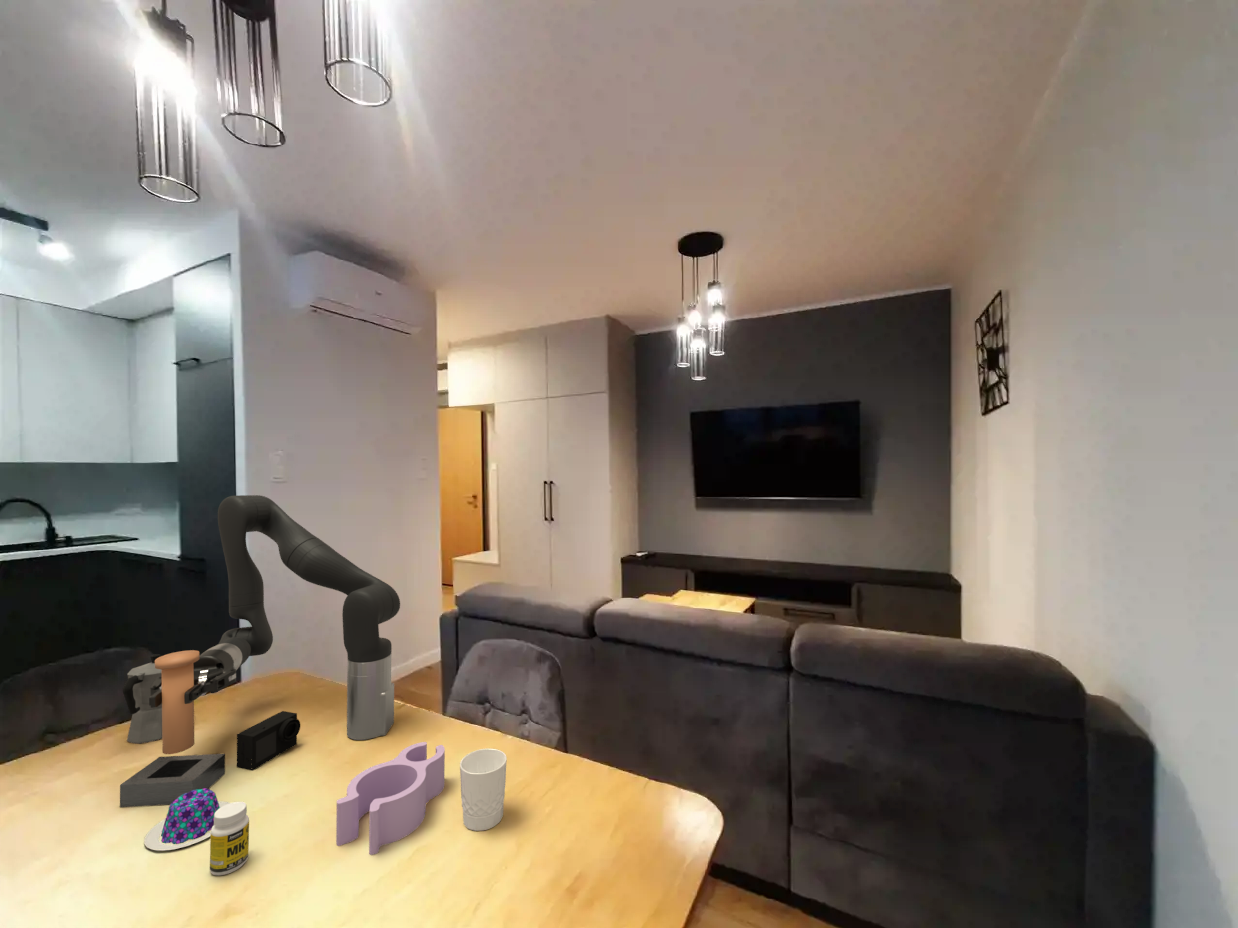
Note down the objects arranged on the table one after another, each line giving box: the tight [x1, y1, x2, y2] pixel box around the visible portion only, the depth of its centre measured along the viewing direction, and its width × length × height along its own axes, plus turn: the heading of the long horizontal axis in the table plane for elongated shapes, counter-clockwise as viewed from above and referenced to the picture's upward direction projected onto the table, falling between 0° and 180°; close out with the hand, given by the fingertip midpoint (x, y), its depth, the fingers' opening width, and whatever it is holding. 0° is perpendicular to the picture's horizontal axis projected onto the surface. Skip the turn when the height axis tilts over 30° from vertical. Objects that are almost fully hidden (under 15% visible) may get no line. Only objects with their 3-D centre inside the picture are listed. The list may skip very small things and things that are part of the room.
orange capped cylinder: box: [155, 649, 200, 755], centre depth 97 cm, size 6×6×17 cm
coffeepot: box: [122, 653, 162, 745], centre depth 117 cm, size 15×9×18 cm, turn 9°
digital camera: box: [236, 710, 301, 771], centre depth 109 cm, size 10×5×7 cm, turn 164°
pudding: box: [143, 788, 230, 851], centre depth 87 cm, size 12×12×5 cm
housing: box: [119, 753, 226, 808], centre depth 97 cm, size 12×9×4 cm
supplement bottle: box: [209, 801, 250, 876], centre depth 79 cm, size 5×5×8 cm
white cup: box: [459, 747, 508, 832], centre depth 90 cm, size 8×8×10 cm
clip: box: [335, 741, 446, 856], centre depth 92 cm, size 20×12×7 cm, turn 163°
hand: (170, 700), depth 95 cm, fingers closed on orange capped cylinder, 4 cm apart
